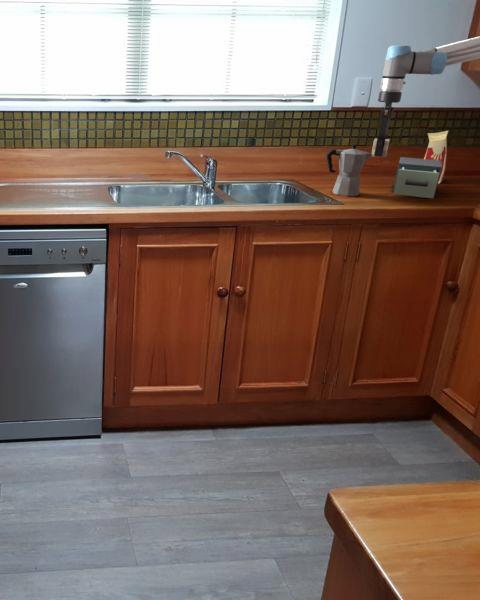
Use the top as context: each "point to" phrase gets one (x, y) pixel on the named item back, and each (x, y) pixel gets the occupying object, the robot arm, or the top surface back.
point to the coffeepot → (348, 170)
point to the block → (383, 148)
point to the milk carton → (437, 150)
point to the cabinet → (419, 166)
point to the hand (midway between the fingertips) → (378, 154)
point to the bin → (416, 182)
